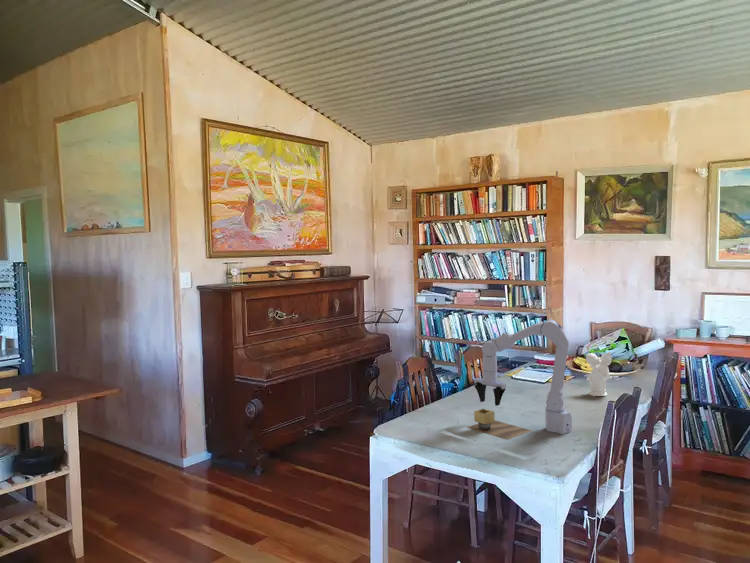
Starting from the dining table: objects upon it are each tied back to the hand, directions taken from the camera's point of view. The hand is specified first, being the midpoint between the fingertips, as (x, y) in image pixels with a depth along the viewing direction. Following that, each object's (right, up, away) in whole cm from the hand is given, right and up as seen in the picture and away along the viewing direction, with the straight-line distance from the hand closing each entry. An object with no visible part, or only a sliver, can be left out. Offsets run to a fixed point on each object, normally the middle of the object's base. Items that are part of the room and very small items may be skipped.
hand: (489, 403), depth 233 cm
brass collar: (-4, -6, -6) cm, 9 cm away
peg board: (+2, -10, -7) cm, 12 cm away
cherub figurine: (+64, -6, +48) cm, 81 cm away
